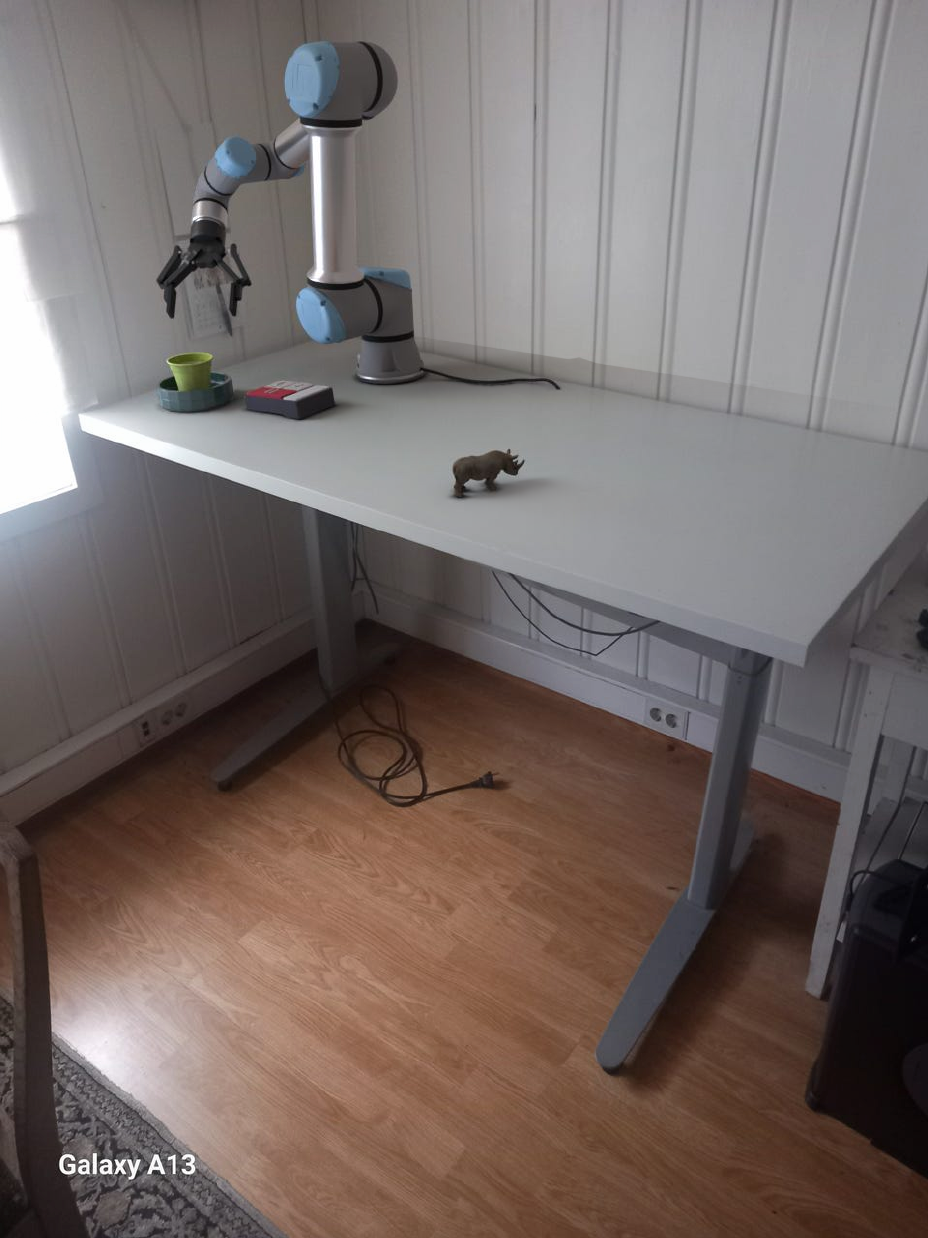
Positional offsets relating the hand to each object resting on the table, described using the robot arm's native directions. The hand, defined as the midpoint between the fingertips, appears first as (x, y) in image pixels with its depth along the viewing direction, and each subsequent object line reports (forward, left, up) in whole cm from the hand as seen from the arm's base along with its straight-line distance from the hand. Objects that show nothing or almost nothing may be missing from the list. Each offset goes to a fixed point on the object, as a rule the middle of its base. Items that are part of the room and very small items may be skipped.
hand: (201, 313), depth 206 cm
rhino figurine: (-87, +14, -16) cm, 89 cm away
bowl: (-5, +9, -16) cm, 19 cm away
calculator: (-26, +1, -16) cm, 31 cm away
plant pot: (-5, +9, -16) cm, 19 cm away
